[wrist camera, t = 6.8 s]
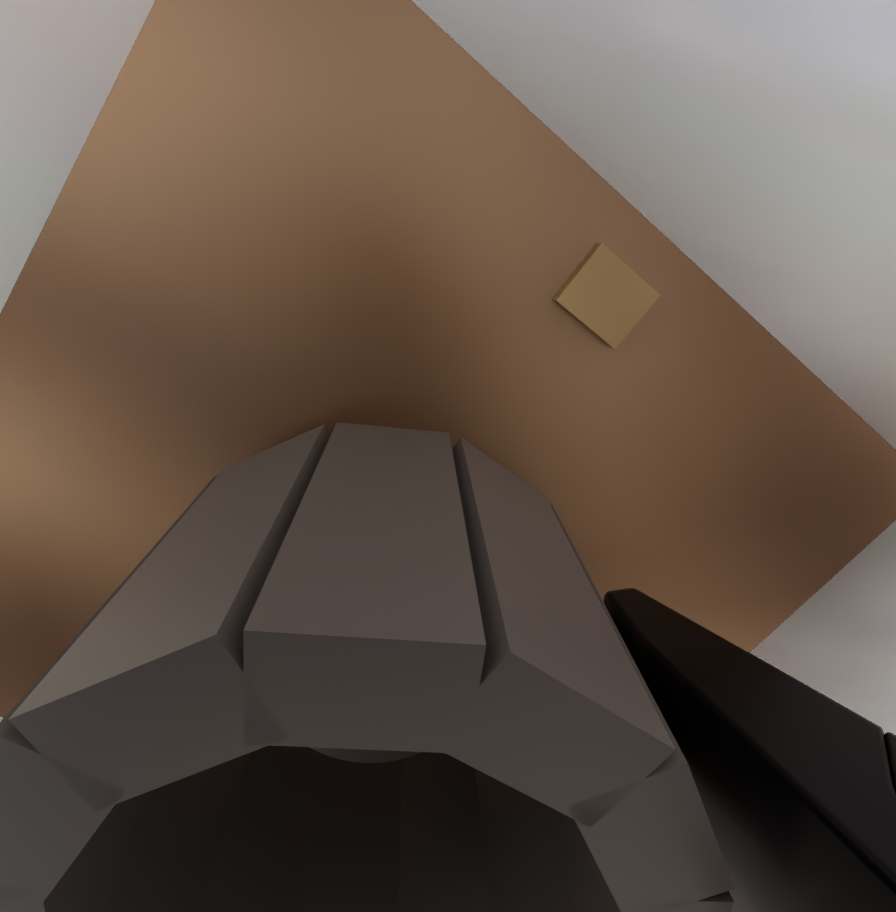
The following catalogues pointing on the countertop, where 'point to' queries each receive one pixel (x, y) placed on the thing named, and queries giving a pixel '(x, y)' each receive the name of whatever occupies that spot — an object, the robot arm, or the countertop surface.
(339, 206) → the square brown plate
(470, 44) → the countertop surface
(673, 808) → the gray faceted pot
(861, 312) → the countertop surface
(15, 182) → the countertop surface
